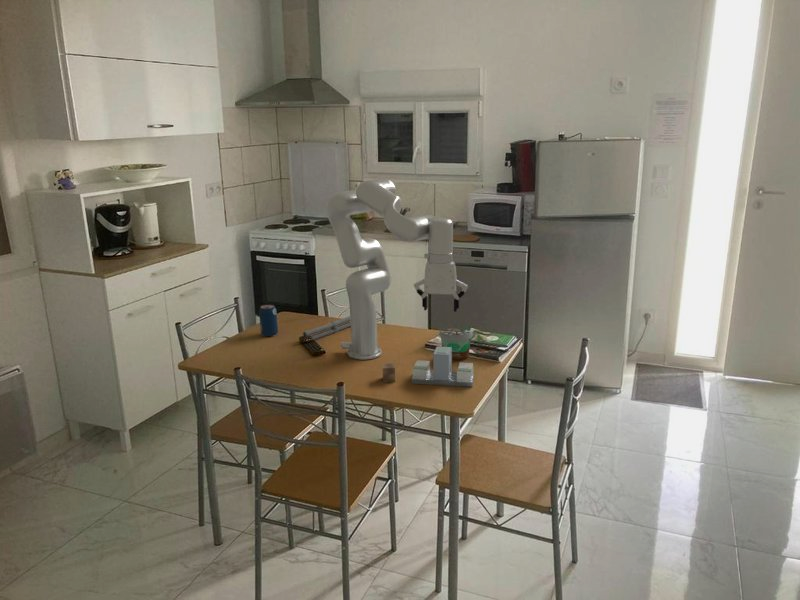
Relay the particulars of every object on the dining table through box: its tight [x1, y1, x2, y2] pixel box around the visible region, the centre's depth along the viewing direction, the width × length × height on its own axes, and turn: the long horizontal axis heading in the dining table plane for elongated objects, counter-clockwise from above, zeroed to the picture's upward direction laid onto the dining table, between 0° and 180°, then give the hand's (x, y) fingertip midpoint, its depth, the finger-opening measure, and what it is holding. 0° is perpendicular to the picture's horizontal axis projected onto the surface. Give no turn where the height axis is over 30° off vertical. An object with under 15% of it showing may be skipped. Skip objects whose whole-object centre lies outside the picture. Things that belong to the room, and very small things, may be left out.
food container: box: [438, 329, 474, 362], centre depth 234 cm, size 12×6×10 cm, turn 88°
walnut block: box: [382, 363, 396, 383], centre depth 218 cm, size 4×4×5 cm
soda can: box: [258, 304, 279, 337], centre depth 264 cm, size 7×7×12 cm
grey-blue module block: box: [432, 346, 453, 381], centre depth 216 cm, size 5×7×9 cm
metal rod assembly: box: [302, 316, 351, 341], centre depth 264 cm, size 26×3×5 cm, turn 140°
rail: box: [410, 360, 476, 388], centre depth 216 cm, size 20×8×5 cm, turn 79°
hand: (440, 309), depth 211 cm, fingers open, 9 cm apart
